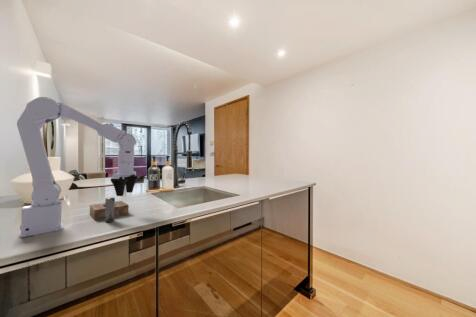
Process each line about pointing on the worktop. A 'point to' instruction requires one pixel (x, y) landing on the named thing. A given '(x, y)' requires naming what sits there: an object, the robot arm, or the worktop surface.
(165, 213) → the worktop surface
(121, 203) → the hole block
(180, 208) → the worktop surface
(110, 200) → the peg
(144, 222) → the worktop surface
